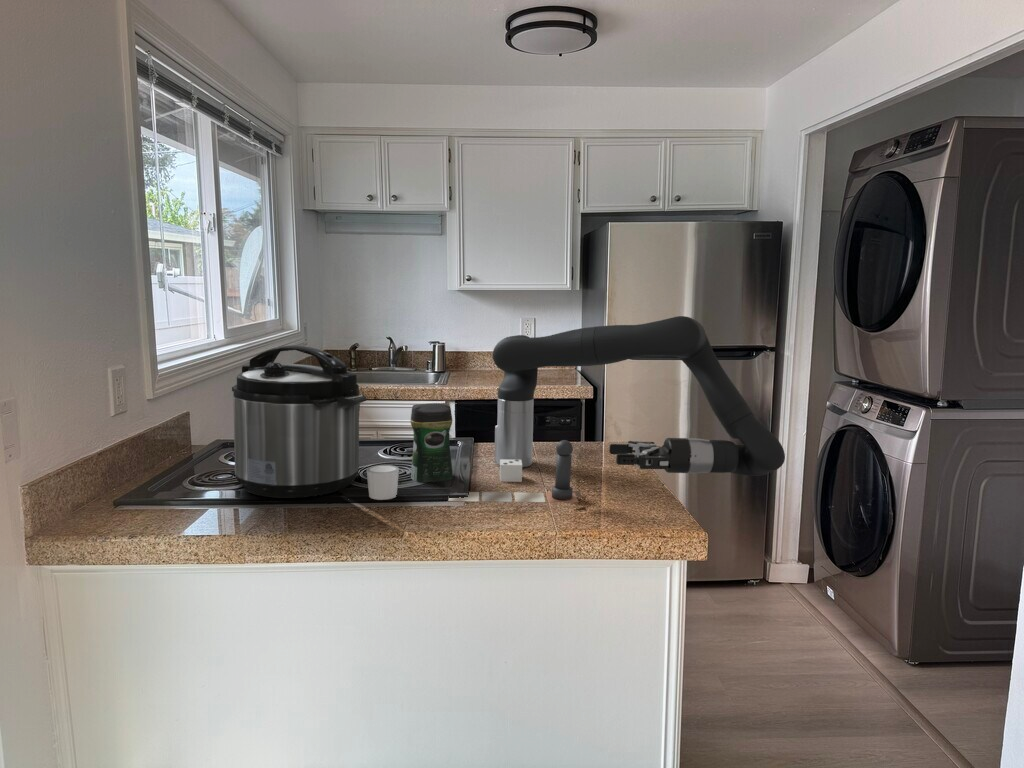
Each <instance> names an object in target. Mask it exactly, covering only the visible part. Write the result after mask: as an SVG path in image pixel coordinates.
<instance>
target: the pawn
mask: <svg viewBox="0 0 1024 768" xmlns="http://www.w3.org/2000/svg"><path fill="white" fill-rule="evenodd" d="M555 447H556V448H555V450H556V453H557V454H556V458H555V459H556V463H555V479H554V480H555V481H554V485H553V486H552V489H551V493H552V497H553V498H555V499H559V500H569V499H572V493H573V491H574V488H573V487H572V486H571V478H572V477H571V473H572V472H571V471H572V454H573V451H574V446H573V444H572V442H570V441H569V440H566V439H563V440H560V441H558V443H557V444H556V446H555Z"/></svg>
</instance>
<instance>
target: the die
mask: <svg viewBox="0 0 1024 768" xmlns="http://www.w3.org/2000/svg"><path fill="white" fill-rule="evenodd" d="M499 481H500V483H501V482H505V483H506V482H507V483H509V482H510V483H511V482H513V483H515V482H516V483H517V482H518V483H520V482H521V483H522V481H523V467H522V461H521V460H511V459H500V465H499Z"/></svg>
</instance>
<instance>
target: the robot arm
mask: <svg viewBox="0 0 1024 768" xmlns="http://www.w3.org/2000/svg"><path fill="white" fill-rule="evenodd" d="M648 356H649V357H652V356H656V357H657V356H658V357H659V356H667V357H677V358H679V359H680V360H681V361H682V362H683V363H684V364H685V365H686V367H687V368H688V369H689V370H690V372H691V373H692V375H694V377H695V379H696V380H697V382H698V384H699V386H700V387H701V389H702V392H703V393H704V395H705V397H706V400H707V402H708V404H709V405H710V407H711V410H712V411H713V413H714V415H715V417H716V418H717V419H718V421H719V423H720V424H721V426H722V427H723V429H724V431H725V432H726V434H728V436H730V437H731V438H732V439H736V440H739V441H740V443H741V444H736V443H734V442H733V441H731V440H724V439H722V440H721V439H703V438H695V437H694V438H692V437H688V438H687V437H666V438H665V440H664V441H663V445H662V446H658V445H657V444H656V443H655V442H654V441H637V440H636V441H633V440H628V441H627V443H611V444H609V451H608V452H609V454H611V455H616V456H615V457H616V458H615V459H616V460H615V463H616V464H617V465H619V466H634V467H637V468H639V469H641V470H665V472H666V473H668V474H705V473H706V474H707V473H711V474H712V473H716V474H719V473H720V474H721V473H722V474H723V473H724V474H726V473H728V474H729V473H731V474H736V475H742V476H749V477H760V476H761V477H762V476H765V475H768V474H770V473H772V472H775V471H777V470H779V469H780V468H781V467H782V466H783V464H784V463H785V460H786V453H785V450H784V448H783V446H782V443H781V442H780V440H779V439H778V438H777V437H776V436H775V434H774V433H773V432H771V431H770V430H769V428H768V427H766V425H764V424H763V423H762V421H760V420H759V419H758V418H757V417H756V415H755V413H754V412H753V410H752V409H751V407H750V406H749V404H748V403H747V401H746V399H745V398H744V397H743V395H742V394H741V393H740V391H739V390H738V388H737V387H736V386H735V384H734V383H733V380H732V379H730V377H729V375H728V374H727V372H726V371H725V370H724V368H723V366H722V365H721V364H720V361H719V359H718V357H717V356H716V354H715V352H714V350H713V347H712V346H711V343H710V340H709V338H708V337H707V334H706V331H705V327H704V326H703V325H702V324H701V323H700V322H699V321H697V320H696V319H694V318H692V317H689V316H683V315H679V316H674V317H669V318H666V319H661V320H657V321H655V320H654V321H651V322H647V323H642V324H640V323H639V324H616V325H613V324H612V325H611V324H610V325H598V326H590V327H582V328H576V329H571V330H566V331H562V332H558V333H554V334H551V335H546V336H537V337H533V336H532V337H530V336H527V335H525V334H524V335H523V334H518V335H511V336H506V337H504V338H502V339H501V340H499V341H498V342H497V343H496V345H495V346H494V347H493V349H492V361H493V362H494V365H495V366H496V367H497V368H498V369H500V370H501V371H503V372H504V375H503V380H502V382H501V383H500V385H499V387H498V388H497V389H498V390H497V420H496V421H497V422H496V423H497V425H495V426H494V462H495V463H496V464H497V465H498V466H500V459H511V460H521V461H522V468H527V467H530V466H531V465H532V464H533V441H534V440H533V439H534V435H533V434H534V400H535V399H534V398H535V391H536V389H537V384H538V374H539V373H538V370H539V368H545V367H546V368H547V367H561V368H562V367H570V368H571V367H591V366H593V367H594V366H602V365H603V366H604V365H608V364H609V365H610V364H615V363H620V362H623V361H626V360H630V359H635V358H637V357H648ZM634 448H635V449H634Z"/></svg>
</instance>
